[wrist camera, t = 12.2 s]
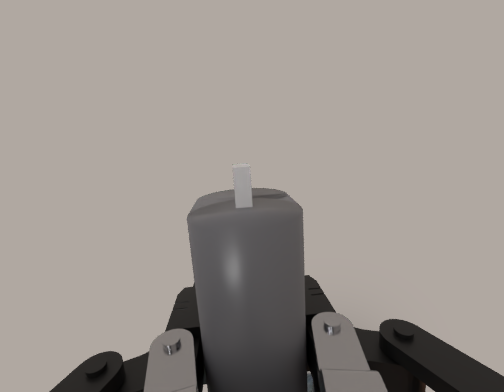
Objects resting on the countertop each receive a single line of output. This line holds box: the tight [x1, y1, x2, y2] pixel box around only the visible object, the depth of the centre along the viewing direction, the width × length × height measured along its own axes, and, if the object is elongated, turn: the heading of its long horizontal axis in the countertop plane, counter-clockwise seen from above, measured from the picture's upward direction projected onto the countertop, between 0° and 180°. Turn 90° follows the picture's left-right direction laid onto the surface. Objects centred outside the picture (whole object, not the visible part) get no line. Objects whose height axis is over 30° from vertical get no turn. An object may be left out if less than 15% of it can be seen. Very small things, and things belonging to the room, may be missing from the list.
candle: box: [187, 163, 307, 392], centre depth 9 cm, size 5×3×12 cm, turn 4°
